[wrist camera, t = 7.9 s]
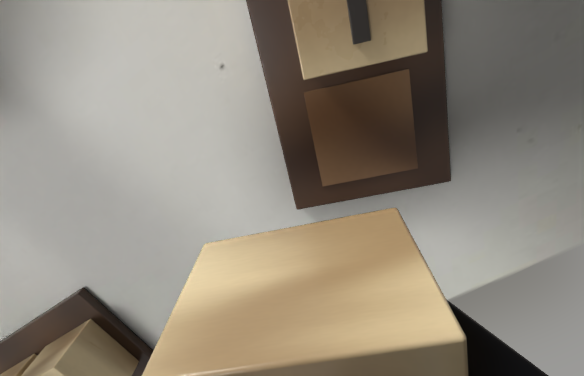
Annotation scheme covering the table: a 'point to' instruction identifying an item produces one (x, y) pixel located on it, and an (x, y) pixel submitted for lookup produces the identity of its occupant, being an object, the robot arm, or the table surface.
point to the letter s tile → (313, 306)
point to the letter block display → (355, 94)
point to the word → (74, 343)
